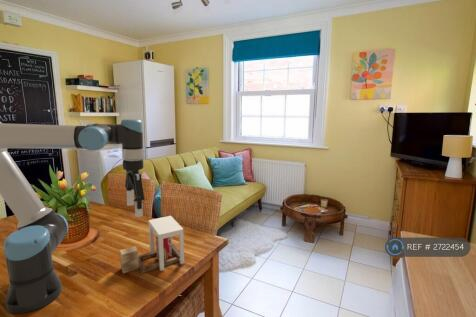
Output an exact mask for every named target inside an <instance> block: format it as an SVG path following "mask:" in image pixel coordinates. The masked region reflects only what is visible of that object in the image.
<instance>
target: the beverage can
mask: <svg viewBox="0 0 476 317" xmlns="http://www.w3.org/2000/svg"><path fill="white" fill-rule="evenodd" d="M155 248H156V250H155V251H157V256H156V260H157V261H159V247H158V237H157V236H156V235H155ZM163 250H164V261H165V260H168V259H171V258H173V257H172V256H173V255H172V254H173V253H172V250H171V237H168V238H164V239H163Z"/></svg>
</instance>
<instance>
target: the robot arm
mask: <svg viewBox="0 0 476 317" xmlns="http://www.w3.org/2000/svg"><path fill="white" fill-rule="evenodd" d="M143 134H144V131H143V122H142V120H140V119H132V118H131V119H129V118H128V119H127V118H123V119H121V122H120V123H119V124H113V123H107V124H106V123H97V122H96V123H88V124H86V125H71V124H70V125H69V124H68V125H67V124H66V125H63V124H60V125H59V124H33V123H30V124H29V123H3V122H2V121H0V196H1V198H2V199H3V201H4V202H5V203H6V204H7V206H8V208H9V210H11V211H12V213H13V214H14V216H15V217H16V219H17V220H18V223H17V226H16V227H17V229H18V230H15V231H14V232H11V233H10V234H9V235H7V237H6V238H5V240H4V243H3V254H4V258H5V263H6V269H7V276H8V279H9V285H8V289H7V293H6V297H5V301H4V302H5V308H6V311H7V312H8V313H12V314H25V313H29V312H33V311H36V310H39V309H41V308H43V307H46V306H48V305H49V304H50V303H52V302H54V301H55V300H56V299H57V298H58V297H59V296H60V294H61V293H62V291H63V286H62V281H61V279H60V277H59V276H58V275H57V273H56V271H55V269H54V264H53V263H54V262H53V253H54V251H56V249H57V248H58V247H59V245H60V244H61V243H62V242H63V241H64V239H65V237H66V235H67V234H68V231H69V223H68V220H67V219H66V218H65V216H63V215H62V214H60V213H59V214H58V213H56V212H55V211H54V209H53V208H51V207H47V206H45V205H44V203H43V201H42V200H41V199H40V197H39V196H38V194H37V192H36V191H35V190H34V188H33V187H32V186H31V184H30V183H29V181H28V180H27V178H26V177H25V175H24V173H23V172H22V171H21V169H20V168H19V166H18V165H17V164H16V161H14V159H13V157H12V156H11V155H10V152H8V149H49V150H50V149H62V150H63V149H64V150H65V149H69V150H70V149H77V150H80V149H81V150H85V151H86V150H87V151H90V152H93V151H95V152H96V151H99V150H101V149H103V148H104V147H106V146H107V145H121V146H122V147H121V154H122V155H121V158H122V159H123V160H122V170H124V171H126V172H125V182H124V183H125V184H124V188H125V190H126V206H127V207H129V206H134V217H135V218H139V217H143V216H144V209H143V208H144V205H143V201H145V195H144V188H143V181H142V180H143V179H142V174H141V173H139V171H140V170H144V159H143V158H144V153H145V150H144V138H143V137H144V135H143Z"/></svg>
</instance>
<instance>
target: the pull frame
mask: <svg viewBox="0 0 476 317" xmlns="http://www.w3.org/2000/svg"><path fill="white" fill-rule="evenodd" d="M178 249H179V248H177V247H176V245H175V244H174V243H173V244H172V245H171V250H172V254H173V256H174V257H171V258H170V259H168V260H165V261H164V267H166V266H169V265H173V264H175V263H180V257H179V250H178ZM119 255H120V267H121V268H120V269H121V271H122V274H125V273H130V272H132V271H135V270H139V272H140V274H143V273H147V272H148V271H153V270H157V269H159V261H158V262H155V263H152V264H148V265H145V266H144V264H143V260H146V259H150V258H153V257H157V251H156V250H154V251H153V252H150V251H149V252H146V253H143V254H139V250H138V247H137V246H135V245H134V246H130V247H128V248H127V247H126V248H123V249H120V250H119ZM149 257H150V258H149ZM129 271H130V272H129Z"/></svg>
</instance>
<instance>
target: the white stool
mask: <svg viewBox="0 0 476 317" xmlns="http://www.w3.org/2000/svg"><path fill="white" fill-rule="evenodd" d="M184 235H185V234H184V228H183V227H182V225H180V223H179V222H177V220H176V219H175V218H174V217H173V216H172V215H167V216H163V217H159V218H158V217H157V218H153V219H149V220H148V236H149V253H150V252H153V251H155V238H154V236H155V237H156V236H157V237H158V247H159V260H158V262H159V268H158V269H159V271H161V272H162V271H164V270H165V266H164V250H163V239H164V238H168V237H171V245H172V244H174V242H173V241H174V239H173V237H175V236H178V245H179V246H178V249H179V250H178V251H179V257H180V261H179V264H180V265H184V264H185V236H184Z"/></svg>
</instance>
